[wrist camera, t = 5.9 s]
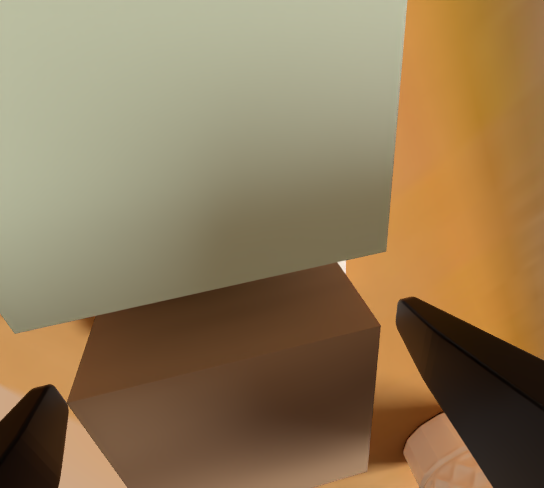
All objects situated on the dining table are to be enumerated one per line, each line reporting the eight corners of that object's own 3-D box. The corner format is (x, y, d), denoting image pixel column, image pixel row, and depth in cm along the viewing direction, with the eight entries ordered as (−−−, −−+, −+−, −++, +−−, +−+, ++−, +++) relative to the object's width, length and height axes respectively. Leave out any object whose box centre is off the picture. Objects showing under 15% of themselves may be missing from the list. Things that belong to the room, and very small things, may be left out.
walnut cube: (306, 327, 12) (367, 471, 8) (170, 359, 12) (160, 533, 8) (298, 204, 10) (381, 325, 6) (121, 238, 9) (66, 402, 5)
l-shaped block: (327, 294, 15) (420, 464, 9) (138, 338, 14) (101, 562, 8) (315, -79, 8) (633, -381, 2) (-39, -47, 7) (-995, -431, 1)
